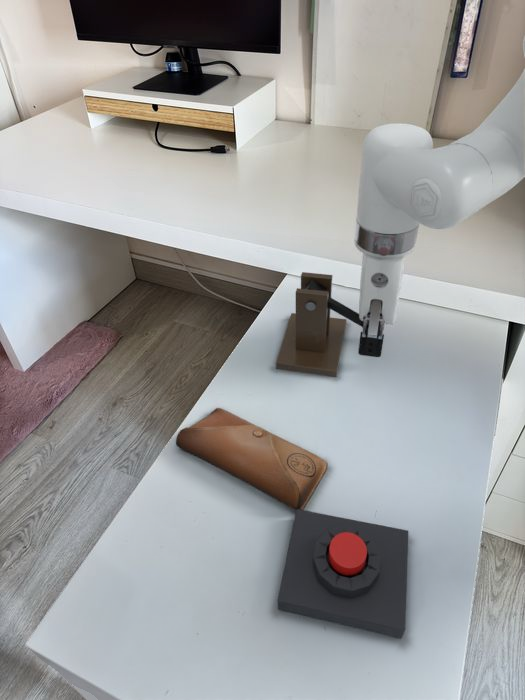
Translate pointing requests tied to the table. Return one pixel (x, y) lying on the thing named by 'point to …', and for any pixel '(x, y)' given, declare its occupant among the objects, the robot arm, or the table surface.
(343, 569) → the stop button
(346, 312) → the lever
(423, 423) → the table surface
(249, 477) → the sunglasses case
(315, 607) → the stop block
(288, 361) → the bracket
